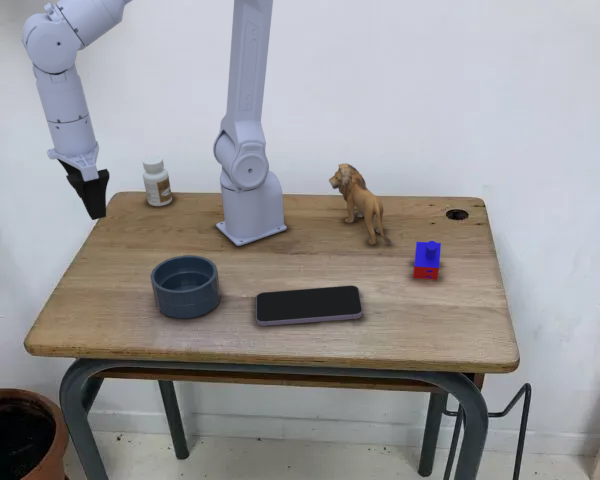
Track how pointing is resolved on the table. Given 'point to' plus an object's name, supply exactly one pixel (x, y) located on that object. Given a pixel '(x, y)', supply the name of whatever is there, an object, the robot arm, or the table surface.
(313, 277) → the table surface
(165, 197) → the pill bottle
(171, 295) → the bowl
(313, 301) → the smartphone
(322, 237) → the table surface
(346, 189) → the lion figurine
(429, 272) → the toy building block
